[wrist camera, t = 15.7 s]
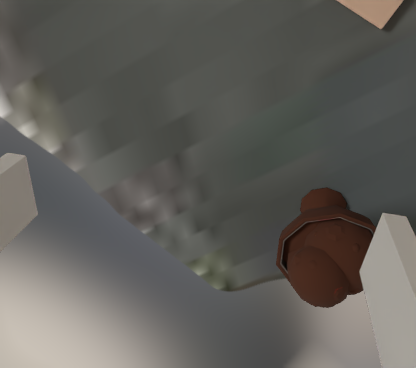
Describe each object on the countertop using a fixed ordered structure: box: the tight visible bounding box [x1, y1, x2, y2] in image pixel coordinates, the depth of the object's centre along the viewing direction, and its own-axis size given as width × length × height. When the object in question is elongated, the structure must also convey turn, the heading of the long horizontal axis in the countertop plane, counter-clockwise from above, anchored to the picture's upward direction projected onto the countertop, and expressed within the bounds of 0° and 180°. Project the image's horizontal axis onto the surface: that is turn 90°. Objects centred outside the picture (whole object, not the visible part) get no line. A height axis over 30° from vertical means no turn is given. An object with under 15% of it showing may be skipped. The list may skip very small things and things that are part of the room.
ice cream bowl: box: [276, 188, 376, 308], centre depth 39 cm, size 11×11×15 cm
